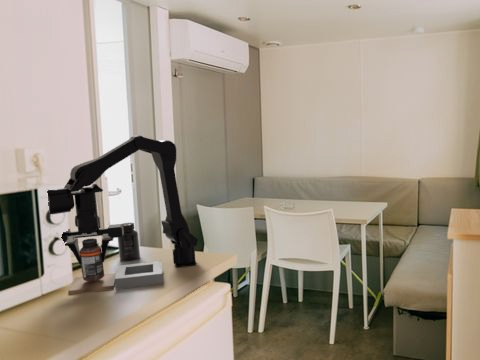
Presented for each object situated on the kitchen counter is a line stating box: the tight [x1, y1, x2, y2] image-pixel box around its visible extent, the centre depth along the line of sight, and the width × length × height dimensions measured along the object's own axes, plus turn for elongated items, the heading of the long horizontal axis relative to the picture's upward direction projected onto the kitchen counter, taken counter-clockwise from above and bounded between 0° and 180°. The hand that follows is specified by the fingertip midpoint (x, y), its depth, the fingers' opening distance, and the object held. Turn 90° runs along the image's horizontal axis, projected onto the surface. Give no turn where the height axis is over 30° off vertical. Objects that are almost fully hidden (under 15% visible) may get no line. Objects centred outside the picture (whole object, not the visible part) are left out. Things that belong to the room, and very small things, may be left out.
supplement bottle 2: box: [117, 222, 141, 262], centre depth 162 cm, size 7×7×12 cm
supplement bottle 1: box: [79, 238, 105, 281], centre depth 135 cm, size 6×6×11 cm
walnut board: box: [67, 272, 116, 295], centre depth 136 cm, size 12×12×1 cm
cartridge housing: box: [114, 260, 164, 290], centre depth 138 cm, size 13×13×3 cm
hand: (92, 263), depth 136 cm, fingers closed on supplement bottle 1, 6 cm apart
